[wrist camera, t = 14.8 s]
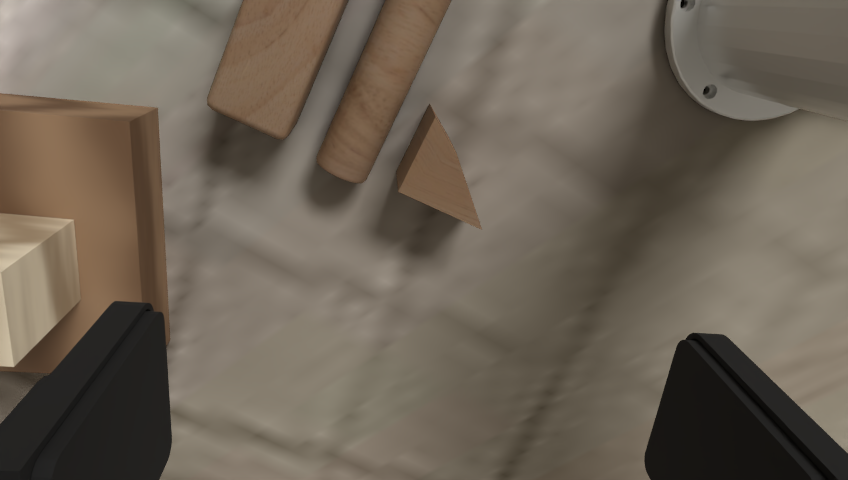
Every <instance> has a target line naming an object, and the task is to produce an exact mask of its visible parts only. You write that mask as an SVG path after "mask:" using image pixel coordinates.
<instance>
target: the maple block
mask: <svg viewBox="0 0 848 480" xmlns="http://www.w3.org/2000/svg"><path fill="white" fill-rule="evenodd" d="M80 300H81V295H80V284H79V272H78V261H77V250H76V238H75V227H74V220H71V219H60V218H49V217H38V216H27V215H16V214H5V213H0V366H7V367H14V366H15V365H16V364H17V363H18V362H19V361H20V360H21V359H22V358H23V357H24V356H25V355H26V354H27V353H28V352H29V351H30V350H31V349H32V348H33V347H34V346H35V345H36V344H37V343H38V342H39V341H40V340H41V339H42V338H43V337H44V336H45V335H46V334H47V333H48V332H49V331H50V330H51V329H52V328H53V327H54V326H55V325H56V324H57V323H58V322H59V321H60V320H61V319H62V318H63V317H64V316H65V315H66V314H67V313H68V312H69V311H70V310H71V309H72V308H73V307H74V306H75V305H76V304H77V303H78V302H79V301H80Z"/></svg>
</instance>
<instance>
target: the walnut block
mask: <svg viewBox="0 0 848 480" xmlns="http://www.w3.org/2000/svg"><path fill="white" fill-rule="evenodd" d="M0 213H5V214H16V215H27V216H38V217H49V218H60V219H71V220H74V227H75V238H76V250H77V261H78V272H79V284H80V295H81V300H80V301H79V302H78V303H77V304H76V305H75V306H74V307H73V308H72V309H71V310H70V311H69V312H68V313H67V314H66V315H65V316H64V317H63V318H62V319H61V320H60V321H59V322H58V323H57V324H56V325H55V326H54V327H53V328H52V329H51V330H50V331H49V332H48V333H47V334H46V335H45V336H44V337H43V338H42V339H41V340H40V341H39V342H38V343H37V344H36V345H35V346H34V347H33V348H32V349H31V350H30V351H29V352H28V353H27V354H26V355H25V356H24V357H23V358H22V359H21V360H20V361H19V362H18V363H17V364H16V365H15V366H14V367H7V366H0V371H10V372H32V373H52V371H53V370H54V369H55V368H56V367H57V366H58V365H59V363H60V362H61V361H62V360H63V359H64V358H65V356H66V355H67V354H68V353H69V352H70V351H71V350H72V348H73V347H74V346H75V345H76V344H77V343H78V341H79V340H80V339H81V338H82V337H83V336H84V335H85V333H86V332H87V331H88V330H89V329H90V328H91V326H92V325H93V324H94V323H95V322H96V321H97V320H98V318H99V317H100V316H101V315H102V314H103V313H104V311H105V310H106V309H107V308H108V307H109V306H110V305H111V303H113V302H114V301H125V302H143V303H150V304H151V305H152V306H153V309H154V311H155V312H162V313H163V315H164V320H165V335H166V346H167V344H168V342H169V341H170V328H169V309H168V290H167V272H166V253H165V234H164V216H163V197H162V178H161V160H160V141H159V123H158V108H154V107H143V106H132V105H122V104H111V103H100V102H89V101H78V100H67V99H56V98H45V97H34V96H23V95H12V94H1V93H0Z"/></svg>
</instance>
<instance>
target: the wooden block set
mask: <svg viewBox="0 0 848 480" xmlns="http://www.w3.org/2000/svg"><path fill="white" fill-rule="evenodd" d="M450 2H451V0H385V3H384V5H383V7H382V9H381V12H380V14H379V16H378V18H377V21H376V23H375V25H374V27H373V30H372V32H371V34H370V37H369V39H368V41H367V43H366V46H365V48H364V50H363V52H362V55H361V57H360V59H359V61H358V64H357V66H356V68H355V71H354V73H353V75H352V77H351V80H350V82H349V84H348V86H347V89H346V91H345V93H344V95H343V98H342V100H341V102H340V105H339V107H338V109H337V111H336V114H335V116H334V118H333V120H332V123H331V125H330V127H329V129H328V132H327V134H326V136H325V139H324V141H323V143H322V145H321V148H320V150H319V152H318V154H317V163H318V164H319V165H320V166H321V167H322V168H323V169H324V170H326V171H327V172H329V173H330V174H332V175H334V176H336V177H338V178H340V179H343V180H346V181H349V182H353V183H363V182H364V181H365V180H366V179H367V177H368V175H369V173H370V171H371V169H372V167H373V164H374V162H375V160H376V158H377V156H378V154H379V152H380V150H381V148H382V145H383V143H384V141H385V139H386V137H387V135H388V133H389V131H390V129H391V127H392V124H393V122H394V120H395V118H396V116H397V114H398V112H399V110H400V108H401V106H402V103H403V101H404V99H405V97H406V95H407V93H408V91H409V89H410V87H411V84H412V82H413V80H414V78H415V76H416V74H417V72H418V70H419V68H420V66H421V63H422V61H423V59H424V57H425V55H426V53H427V51H428V49H429V47H430V44H431V42H432V40H433V38H434V36H435V34H436V32H437V30H438V28H439V26H440V23H441V21H442V19H443V17H444V15H445V13H446V11H447V9H448V7H449V5H450ZM347 3H348V0H243V2H242V5H241V7H240V10H239V13H238V15H237V18H236V21H235V24H234V26H233V29H232V32H231V34H230V37H229V40H228V43H227V45H226V48H225V51H224V54H223V56H222V59H221V62H220V64H219V67H218V70H217V73H216V75H215V78H214V81H213V83H212V86H211V89H210V92H209V94H208V97H207V105H208V106H209V107H210V108H211V109H212V110H214V111H216V112H219V113H221V114H223V115H225V116H227V117H230V118H232V119H234V120H236V121H238V122H241V123H243V124H245V125H247V126H249V127H252V128H254V129H256V130H258V131H261V132H263V133H265V134H267V135H269V136H272V137H274V138H276V139H285V138H286V137H287V136H288V135H289V134H290V132H291V131H292V129H293V128H294V126H295V125H296V123H297V121H298V119H299V117H300V114H301V112H302V109H303V107H304V105H305V102H306V100H307V98H308V95H309V93H310V90H311V88H312V86H313V83H314V81H315V79H316V76H317V74H318V72H319V69H320V67H321V64H322V62H323V60H324V57H325V55H326V53H327V50H328V48H329V45H330V43H331V41H332V38H333V36H334V34H335V31H336V29H337V26H338V24H339V22H340V19H341V17H342V15H343V12H344V10H345V8H346V5H347ZM396 174H397V184H398V192H400V193H402V194H404V195H406V196H409V197H411V198H413V199H415V200H417V201H420V202H422V203H424V204H426V205H429V206H431V207H433V208H435V209H437V210H440V211H442V212H444V213H446V214H448V215H451V216H453V217H455V218H457V219H459V220H462V221H464V222H466V223H468V224H470V225H473V226H475V227H477V228H479V229H481V230H482V228H481V225H480V222H479V219H478V216H477V213H476V210H475V207H474V204H473V201H472V198H471V195H470V192H469V189H468V186H467V183H466V180H465V177H464V174H463V172H462V169H461V166H460V163H459V160H458V157H457V154H456V151H455V149H454V147H453V145H452V143H451V141H450V139H449V137H448V135H447V133H446V132H445V130H444V128H443V126H442V125H441V123H440V121H439V119H438V118H437V116H436V114H435V112H434V111H433V109H432V107H431V105H430V104H429V106H428V108H427V110H426V112H425V114H424V116H423V118H422V120H421V122H420V124H419V126H418V128H417V130H416V133H415V135H414V137H413V139H412V141H411V143H410V145H409V147H408V149H407V151H406V153H405V155H404V157H403V159H402V161H401V163H400V165H399V167H398V169H397V171H396Z"/></svg>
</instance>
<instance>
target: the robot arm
mask: <svg viewBox="0 0 848 480" xmlns="http://www.w3.org/2000/svg"><path fill="white" fill-rule="evenodd" d="M680 2H681V0H668V4H667V7H666V17H665V27H664V32H665V45H666V52H667V55H668V59H669V63H670V66H671V69H672V71H673V73H674V75H675V77H676V79H677V81H678V82H679V84H680V85H681V87H682V88H683V89H684V90H685V91H686V93H687V94H688V95H689V96H690V97H691V98H692V99H693V100H695V101H696V102H697V103H698V104H700V105H701V106H702V107H704V108H706V109H708V110H710V111H712V112H715V113H717V114H719V115H722V116H726V117H729V118H733V119H738V120H748V121H757V120H767V119H773V118H777V117H780V116H783V115H787V114H790V113H792V112H794V111H796V110H798V109H803V110H806V111H810V112H814V113H818V114H822V115H826V116H829V117H833V118H837V119H841V120H845V121H848V0H684V5H683V7H680ZM705 87H706V91H705V92H704V93H703V90H704V88H705ZM171 443H172V433H171V417H170V401H169V384H168V368H167V351H166V335H165V320H164V315H163V313H162V312H155V311H154V309H153V306H152V305H151V304H150V303H143V302H125V301H114V302H113V303H111V305H110V306H109V307H108V308H107V309H106V310H105V311H104V313H103V314H102V315H101V316H100V317H99V318H98V320H97V321H96V322H95V323H94V324H93V325H92V326H91V328H90V329H89V330H88V331H87V332H86V333H85V335H84V336H83V337H82V338H81V339H80V340H79V341H78V343H77V344H76V345H75V346H74V347H73V348H72V350H71V351H70V352H69V353H68V354H67V355H66V356H65V358H64V359H63V360H62V361H61V362H60V363H59V365H58V366H57V367H56V368H55V369H54V370H53V371H52V373H51V374H50V375H48V376H44V377H43V378H42V379H41V380H39V381H38V382H37V383H36V384H35V386H34V387H33V388H32V389H31V390H30V391H29V392H28V393H27V395H26V396H25V397H24V398H23V399H22V400H21V401H20V403H19V404H18V405H17V406H16V407H15V408H14V409H13V410H12V412H11V413H10V414H9V415H8V416H7V417H6V418H5V420H4V421H3V422H2V423H1V424H0V480H159V479H160V476H161V474H162V472H163V470H164V468H165V465H166V463H167V461H168V458H169V455H170V450H171ZM645 468H646V471H647V474H648V476H649V478H650V479H651V480H848V453H847V452H846V451H844V450H843V449H842V448H841V447H840V446H839V445H838V444H837V443H836V442H835V441H834V440H833V439H832V438H831V437H830V436H829V435H828V434H827V433H826V432H825V431H824V430H823V429H822V428H821V427H820V426H819V425H818V424H817V423H816V422H815V421H813V420H812V419H811V418H810V417H809V416H808V415H807V414H806V413H805V412H804V411H803V410H802V409H801V408H800V407H799V406H798V405H797V404H796V403H795V402H794V401H793V400H792V399H791V398H790V397H789V396H788V395H787V394H786V393H785V392H784V391H782V390H781V389H780V388H779V387H778V386H777V385H776V384H775V383H774V382H773V381H772V380H771V379H770V378H769V377H768V376H767V375H766V374H765V373H764V372H763V371H762V370H761V369H760V368H759V367H758V366H757V365H756V364H755V363H754V362H753V361H751V360H750V359H749V358H748V357H747V356H746V355H745V354H744V353H743V352H742V351H741V350H740V349H739V348H738V347H737V346H736V345H735V344H734V343H733V342H732V341H731V340H730V339H729V338H728V337H726V336H725V335H721V334H704V333H692V334H690V335H689V336H688V337H687V338H686V340H682V341H680V342H679V343H678V345H677V347H676V351H675V354H674V357H673V361H672V364H671V368H670V371H669V374H668V378H667V381H666V384H665V388H664V391H663V395H662V398H661V401H660V405H659V408H658V412H657V415H656V418H655V422H654V425H653V429H652V432H651V435H650V439H649V442H648V445H647V449H646V452H645Z"/></svg>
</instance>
